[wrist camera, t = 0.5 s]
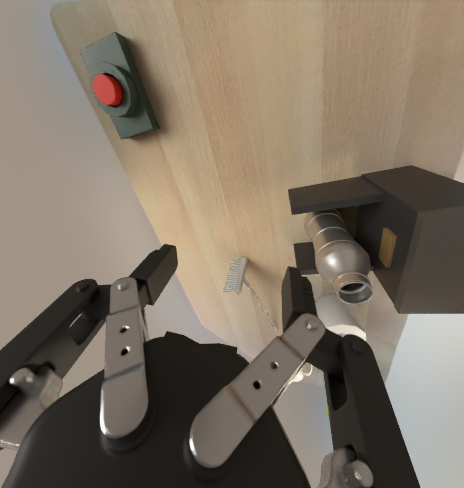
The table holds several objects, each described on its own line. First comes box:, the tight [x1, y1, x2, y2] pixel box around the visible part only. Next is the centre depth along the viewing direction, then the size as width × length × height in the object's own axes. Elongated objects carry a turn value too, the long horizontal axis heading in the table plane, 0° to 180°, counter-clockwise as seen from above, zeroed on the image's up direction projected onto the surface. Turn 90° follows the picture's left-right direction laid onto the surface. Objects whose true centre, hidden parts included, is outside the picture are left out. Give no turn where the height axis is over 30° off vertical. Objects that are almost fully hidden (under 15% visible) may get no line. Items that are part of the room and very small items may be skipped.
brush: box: [223, 258, 277, 330], centre depth 52 cm, size 4×28×9 cm, turn 23°
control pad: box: [80, 32, 159, 139], centre depth 31 cm, size 12×7×4 cm, turn 14°
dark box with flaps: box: [288, 165, 464, 314], centre depth 30 cm, size 19×14×17 cm
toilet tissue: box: [315, 294, 366, 341], centre depth 46 cm, size 9×13×9 cm
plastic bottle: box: [304, 209, 374, 304], centre depth 30 cm, size 6×7×20 cm
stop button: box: [93, 74, 123, 106], centre depth 29 cm, size 4×4×2 cm
